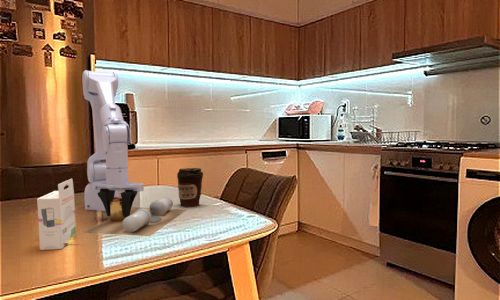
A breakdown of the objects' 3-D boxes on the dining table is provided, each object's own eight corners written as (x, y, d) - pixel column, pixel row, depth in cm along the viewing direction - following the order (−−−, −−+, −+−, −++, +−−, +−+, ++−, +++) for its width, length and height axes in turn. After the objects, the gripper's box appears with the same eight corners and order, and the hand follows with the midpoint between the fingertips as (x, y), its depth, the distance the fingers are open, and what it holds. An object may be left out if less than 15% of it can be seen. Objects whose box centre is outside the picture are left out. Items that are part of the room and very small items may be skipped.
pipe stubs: (121, 233, 90) (120, 214, 90) (159, 210, 113) (159, 195, 112) (139, 234, 89) (138, 215, 89) (174, 211, 112) (173, 196, 112)
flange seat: (135, 222, 99) (135, 221, 99) (145, 216, 104) (145, 216, 104) (156, 223, 98) (156, 222, 98) (165, 217, 103) (165, 217, 103)
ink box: (55, 237, 89) (53, 178, 88) (76, 237, 89) (74, 177, 88) (38, 250, 80) (35, 184, 79) (61, 249, 81) (58, 184, 79)
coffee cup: (197, 212, 114) (197, 170, 113) (173, 210, 115) (172, 170, 114) (206, 205, 122) (206, 167, 121) (183, 204, 124) (182, 166, 123)
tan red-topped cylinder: (107, 221, 100) (106, 199, 99) (115, 217, 104) (114, 196, 104) (121, 222, 99) (121, 200, 99) (129, 217, 103) (129, 196, 103)
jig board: (82, 235, 90) (82, 231, 90) (133, 210, 116) (132, 207, 116) (150, 239, 87) (150, 235, 87) (187, 212, 113) (187, 209, 113)
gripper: (84, 168, 98) (86, 218, 99) (134, 170, 95) (135, 221, 96) (99, 165, 105) (100, 212, 106) (146, 166, 102) (147, 214, 103)
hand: (118, 216), depth 101 cm, fingers closed on tan red-topped cylinder, 4 cm apart
